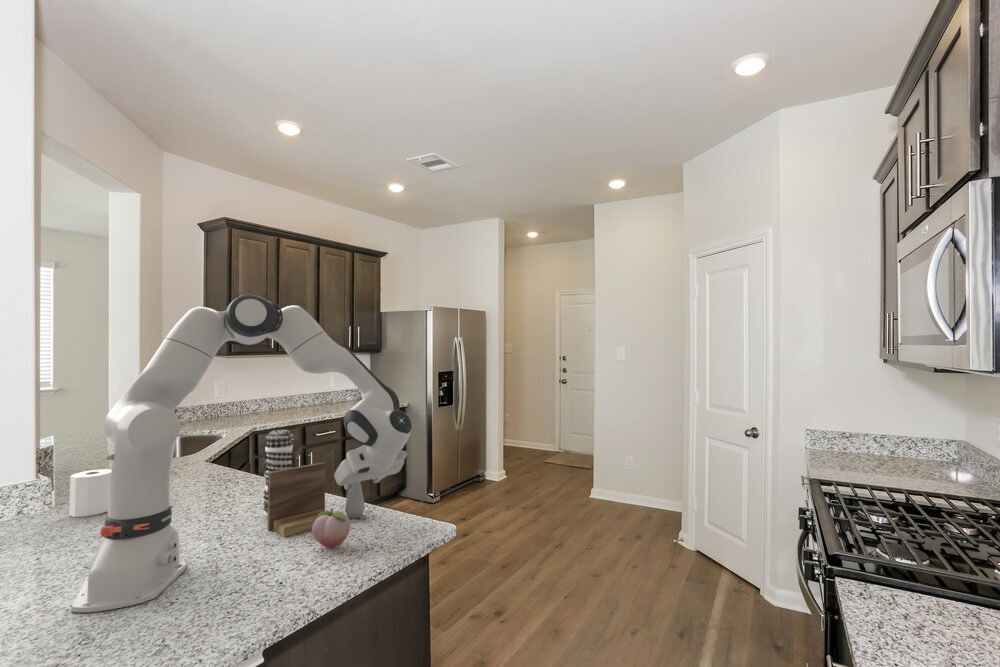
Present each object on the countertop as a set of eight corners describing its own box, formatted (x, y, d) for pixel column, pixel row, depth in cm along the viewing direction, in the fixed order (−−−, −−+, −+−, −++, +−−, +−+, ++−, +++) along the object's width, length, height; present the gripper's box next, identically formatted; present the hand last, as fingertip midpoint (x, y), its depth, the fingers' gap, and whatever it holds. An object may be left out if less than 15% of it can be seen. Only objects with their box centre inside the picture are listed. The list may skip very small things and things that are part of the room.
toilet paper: (69, 511, 150) (70, 472, 151) (111, 504, 157) (112, 467, 158) (69, 519, 143) (70, 479, 143) (113, 511, 150) (114, 473, 150)
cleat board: (336, 522, 139) (336, 467, 140) (280, 538, 128) (280, 477, 128) (322, 515, 145) (322, 462, 146) (267, 529, 134) (268, 472, 134)
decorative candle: (255, 515, 145) (256, 433, 146) (276, 506, 154) (276, 428, 155) (280, 518, 143) (281, 434, 144) (300, 508, 152) (301, 429, 153)
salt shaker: (367, 513, 147) (367, 470, 147) (360, 519, 141) (360, 475, 142) (349, 512, 148) (349, 470, 148) (341, 519, 142) (341, 475, 142)
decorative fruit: (357, 543, 124) (357, 504, 124) (338, 556, 116) (338, 515, 116) (326, 539, 127) (326, 501, 127) (305, 552, 119) (306, 511, 119)
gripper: (405, 441, 145) (387, 468, 151) (342, 452, 130) (325, 482, 137) (413, 458, 141) (395, 485, 148) (350, 471, 127) (332, 501, 133)
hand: (361, 484), depth 142 cm, fingers open, 8 cm apart
